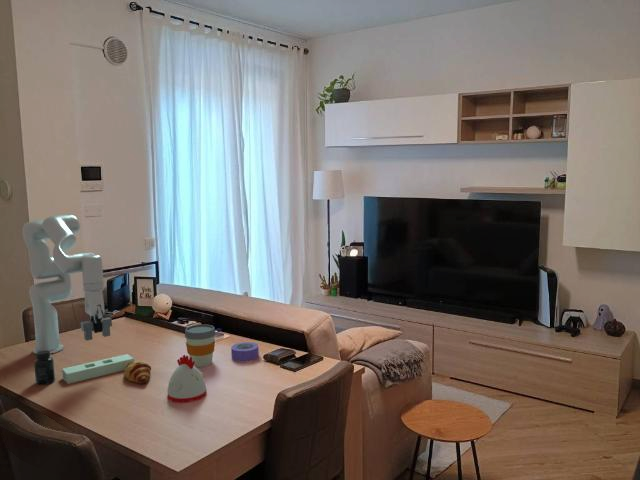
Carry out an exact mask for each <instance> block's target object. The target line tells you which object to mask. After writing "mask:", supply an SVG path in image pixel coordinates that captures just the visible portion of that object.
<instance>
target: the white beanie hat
mask: <svg viewBox="0 0 640 480" xmlns="http://www.w3.org/2000/svg"><path fill="white" fill-rule="evenodd" d="M176 361H177V365H178V366H177V367H175V370H174V371H173V373H172V374H171V376H170V379H169V381H168V387H167V399H168V400H169V401H171V402H173V403H178V404H179V403H180V404H183V403H185V404H186V403H191V402H192V403H193V402H195V401H200V400H201V399H203V398H205V396H207V393H208V392H207V386H206V382H205V375H204V373H203V372H202V371H200V370H199V369H198V367H196V366H194V363H195V361H193V362H192V357H190V358H189V355H185V354H184V355H182V356H180V357H179V358H178V359H177V360H176Z"/></svg>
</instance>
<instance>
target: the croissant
mask: <svg viewBox="0 0 640 480" xmlns="http://www.w3.org/2000/svg"><path fill="white" fill-rule="evenodd" d="M151 370H152V366H151V365H150V364H149V363H148V362H144V361H134V362H130V363H128V364H127V365H126V367H125V370H124V371H123V377H124V378H126V379H127V380H128V381H129V382H133V383H137V384H144V383H146V382H147V381H149V380H150V377H151Z"/></svg>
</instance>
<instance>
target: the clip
mask: <svg viewBox="0 0 640 480" xmlns="http://www.w3.org/2000/svg"><path fill="white" fill-rule="evenodd" d="M112 320H113V319H112V317H110V316H109V317H103V318H102V326H103V331H102V332H101V333H102V334H101V336H102V337H104V338H105V337H106V338H107V337H110V336H111V328H110V327H112V326H113V321H112ZM80 330H81V331H83V338H84V339H83V340H85V341H90V340H93V331H92V330H94V320H86V321H81V322H80Z"/></svg>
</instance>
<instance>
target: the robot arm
mask: <svg viewBox="0 0 640 480" xmlns="http://www.w3.org/2000/svg"><path fill="white" fill-rule="evenodd" d="M80 227H81V224H80V221H79V219H78V218H77V216H75V215H73V214H62V215H60V214H59V215H53V216H47V217H46V218H44V219H40V220H32V221H28V222H26V223H25V224H24V225H23V227H22V237H23V241H24V243H25V245H26V247H27V250H28V258H29V259H28V260H29V269H30V273H31V276H32V278H33V279H35V280H45V279H52V278H56V279H54V280H48V281H42V282H37V283H34V284H32V285H31V286H30V288H29V298H30V301H31V302H30V303H31V304H32V312H33V321H34V322H33V323H34V334H35V345H36V347H34V348H33V349H32V353H33V354H35V355H36V353H37V352H39V351H45V350H48V351H50V355H51V354H56V353H58V352H61V351H62V350H63V349H64V347H65V346H64V344H62V343H60V332H59V319H58V311H57V309H56V308H55V307H54V306H53V305H52V303H53V302H59V301H62V300H67V299H69V298H70V297H71V296H72V294H73V287H72V279H71V277H72V276H71V275H73V274H79V273H81V274H82V285H83V286H82V287H83V292H84V311H85V314H87V315H89V321H91V320H94V330H92V332H93V333H94V334H97V333H102V331H103V326H102V318H104V317H103V315H104V314H105V303H104V295H103V291H104V290H105V283H104V270H103V269H104V268H103V267H104V266H103V259H102V256H101V255H99V254H94V253H93V252H83V253H74V254H68V255H67V254H65V253H66V252H67V251H70V250H71V249H72V248H73V247H74V246H75V245H76V243H77V236H76V234H78V232H79V231H80ZM49 239H50V241H51V242H52V243H53V245H54V246H53V249H52V255H51V249H50V246H49V244H48V243H47V242H46V241H45V240H49Z"/></svg>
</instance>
